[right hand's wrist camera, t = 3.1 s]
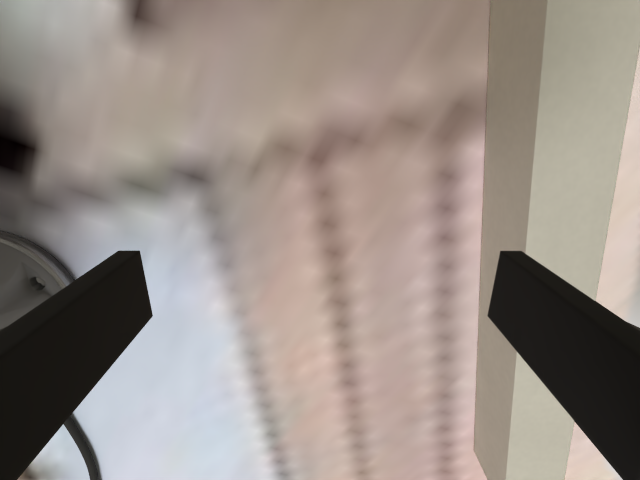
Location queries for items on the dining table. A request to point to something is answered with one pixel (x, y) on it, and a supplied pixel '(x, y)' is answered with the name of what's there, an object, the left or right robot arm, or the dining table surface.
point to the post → (546, 196)
